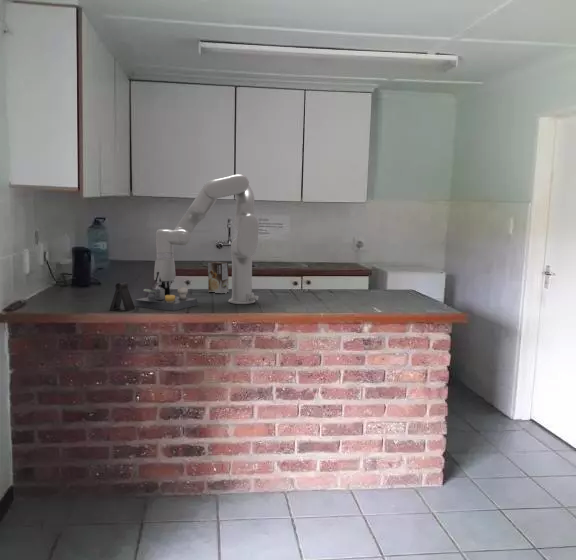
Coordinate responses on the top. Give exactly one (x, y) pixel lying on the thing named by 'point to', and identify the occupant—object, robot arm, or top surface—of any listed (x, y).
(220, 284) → the coffee box
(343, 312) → the top surface
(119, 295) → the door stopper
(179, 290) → the ivory button
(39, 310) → the top surface
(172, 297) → the amber button
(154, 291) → the rocker paddle
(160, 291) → the slider knob
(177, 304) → the console
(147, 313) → the top surface
